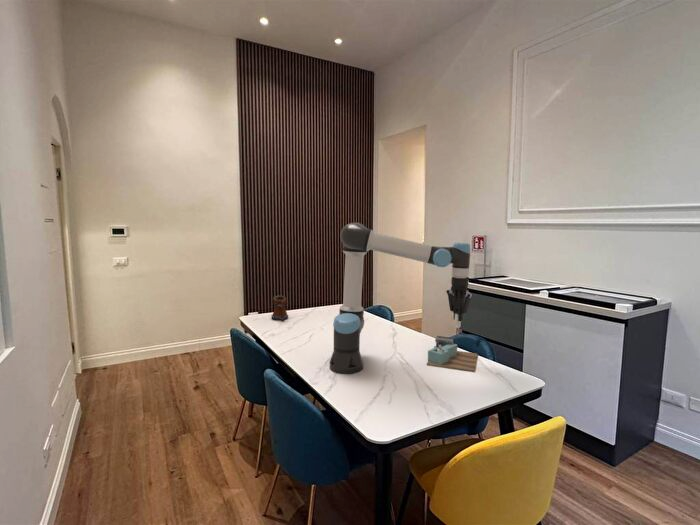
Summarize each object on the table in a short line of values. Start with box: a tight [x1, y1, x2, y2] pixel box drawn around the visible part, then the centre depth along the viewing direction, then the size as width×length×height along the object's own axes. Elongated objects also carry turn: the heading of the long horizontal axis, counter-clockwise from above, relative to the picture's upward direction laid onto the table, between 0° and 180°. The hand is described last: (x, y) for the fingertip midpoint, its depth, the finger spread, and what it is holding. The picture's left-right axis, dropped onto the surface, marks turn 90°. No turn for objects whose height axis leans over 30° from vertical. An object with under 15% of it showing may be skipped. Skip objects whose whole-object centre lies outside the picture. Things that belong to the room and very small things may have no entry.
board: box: [426, 350, 478, 373], centre depth 183 cm, size 24×21×1 cm
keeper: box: [433, 335, 454, 348], centre depth 191 cm, size 8×8×7 cm
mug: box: [270, 294, 289, 322], centre depth 252 cm, size 18×12×15 cm, turn 24°
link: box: [427, 342, 458, 365], centre depth 183 cm, size 18×7×5 cm, turn 136°
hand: (457, 327), depth 176 cm, fingers closed
